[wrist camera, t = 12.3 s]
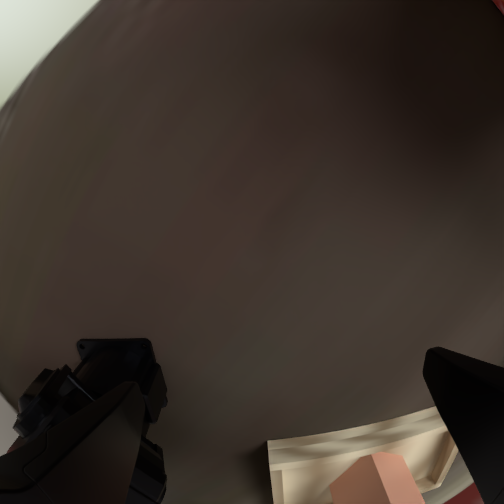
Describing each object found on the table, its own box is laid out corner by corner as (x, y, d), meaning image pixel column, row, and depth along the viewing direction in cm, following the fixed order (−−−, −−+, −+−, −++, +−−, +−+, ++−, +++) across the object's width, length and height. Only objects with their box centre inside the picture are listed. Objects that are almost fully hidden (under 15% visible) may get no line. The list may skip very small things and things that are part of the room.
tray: (274, 506, 28) (276, 525, 25) (267, 440, 25) (269, 464, 22) (431, 470, 28) (439, 486, 25) (460, 397, 25) (473, 414, 22)
